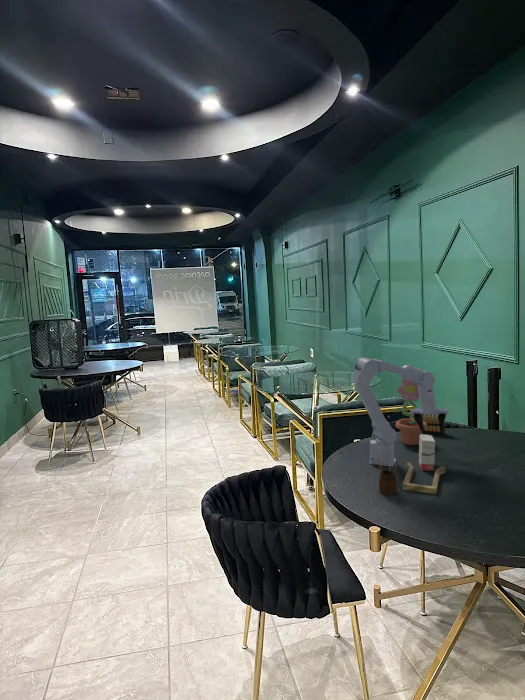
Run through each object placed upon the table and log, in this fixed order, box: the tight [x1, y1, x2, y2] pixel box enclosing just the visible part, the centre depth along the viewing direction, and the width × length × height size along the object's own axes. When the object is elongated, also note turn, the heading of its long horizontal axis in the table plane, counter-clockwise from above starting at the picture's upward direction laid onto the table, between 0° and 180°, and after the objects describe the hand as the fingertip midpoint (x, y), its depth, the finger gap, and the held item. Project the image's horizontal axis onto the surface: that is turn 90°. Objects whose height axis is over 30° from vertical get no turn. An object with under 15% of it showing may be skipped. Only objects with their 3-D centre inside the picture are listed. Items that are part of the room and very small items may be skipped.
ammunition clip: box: [422, 414, 446, 435], centre depth 218 cm, size 11×2×12 cm, turn 68°
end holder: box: [402, 462, 446, 495], centre depth 166 cm, size 14×21×2 cm, turn 154°
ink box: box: [418, 433, 436, 472], centre depth 177 cm, size 9×5×12 cm, turn 168°
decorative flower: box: [393, 379, 427, 446], centre depth 205 cm, size 15×14×30 cm
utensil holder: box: [378, 457, 398, 496], centre depth 157 cm, size 6×6×12 cm
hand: (432, 431), depth 186 cm, fingers open, 7 cm apart
